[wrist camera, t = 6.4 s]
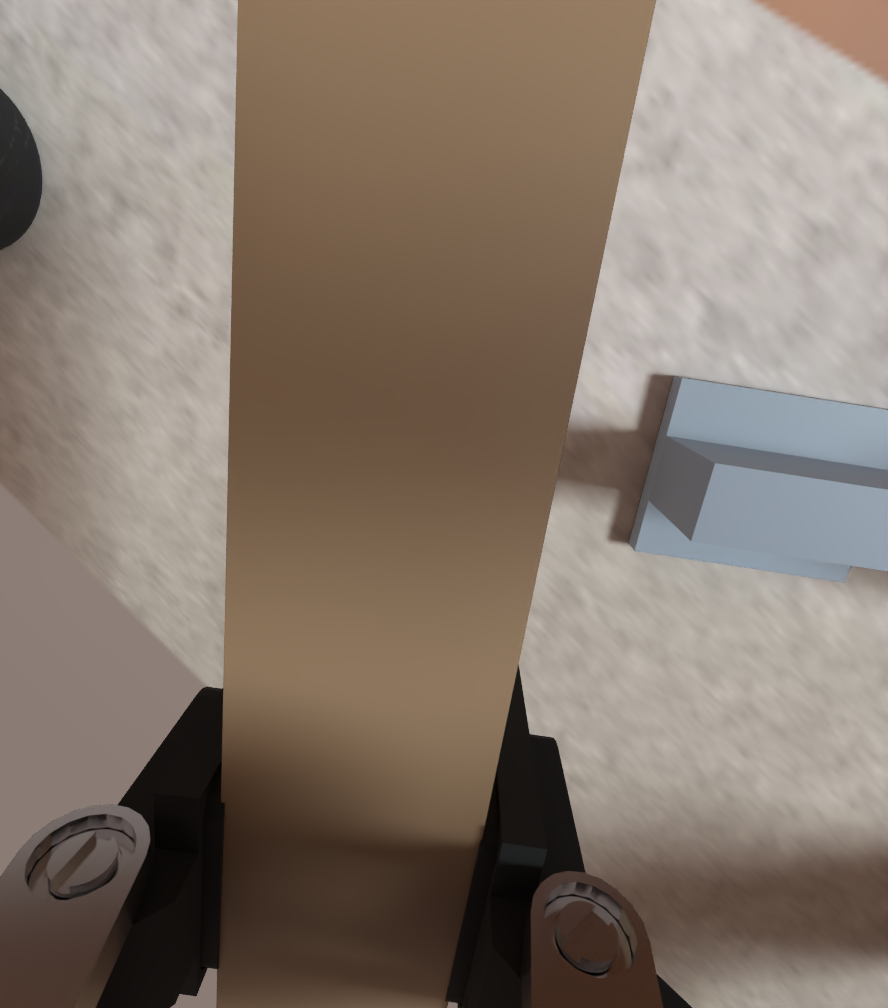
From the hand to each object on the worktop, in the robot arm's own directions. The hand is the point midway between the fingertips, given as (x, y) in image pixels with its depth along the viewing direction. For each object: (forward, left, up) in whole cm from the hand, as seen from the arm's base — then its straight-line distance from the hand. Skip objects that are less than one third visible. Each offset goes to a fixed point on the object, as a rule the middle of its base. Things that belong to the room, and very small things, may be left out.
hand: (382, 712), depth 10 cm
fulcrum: (+2, -15, -17) cm, 23 cm away
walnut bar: (0, 0, -1) cm, 1 cm away
